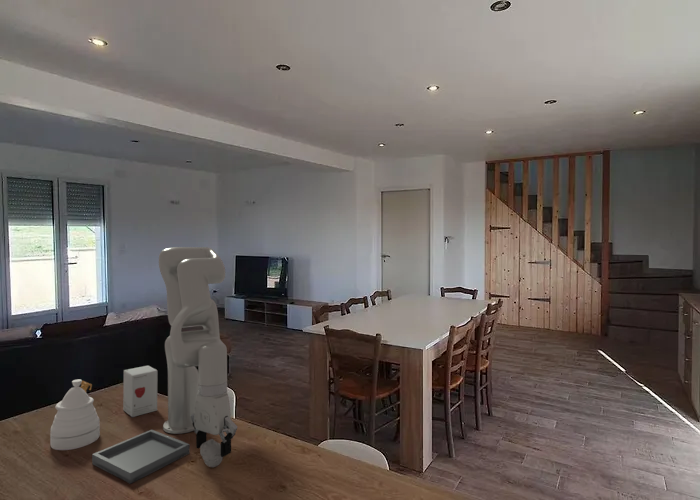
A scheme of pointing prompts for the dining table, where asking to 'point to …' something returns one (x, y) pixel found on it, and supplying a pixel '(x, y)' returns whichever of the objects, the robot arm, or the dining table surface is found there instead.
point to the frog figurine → (211, 453)
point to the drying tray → (140, 455)
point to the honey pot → (74, 420)
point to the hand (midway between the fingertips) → (213, 450)
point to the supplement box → (140, 390)
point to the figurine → (85, 386)
